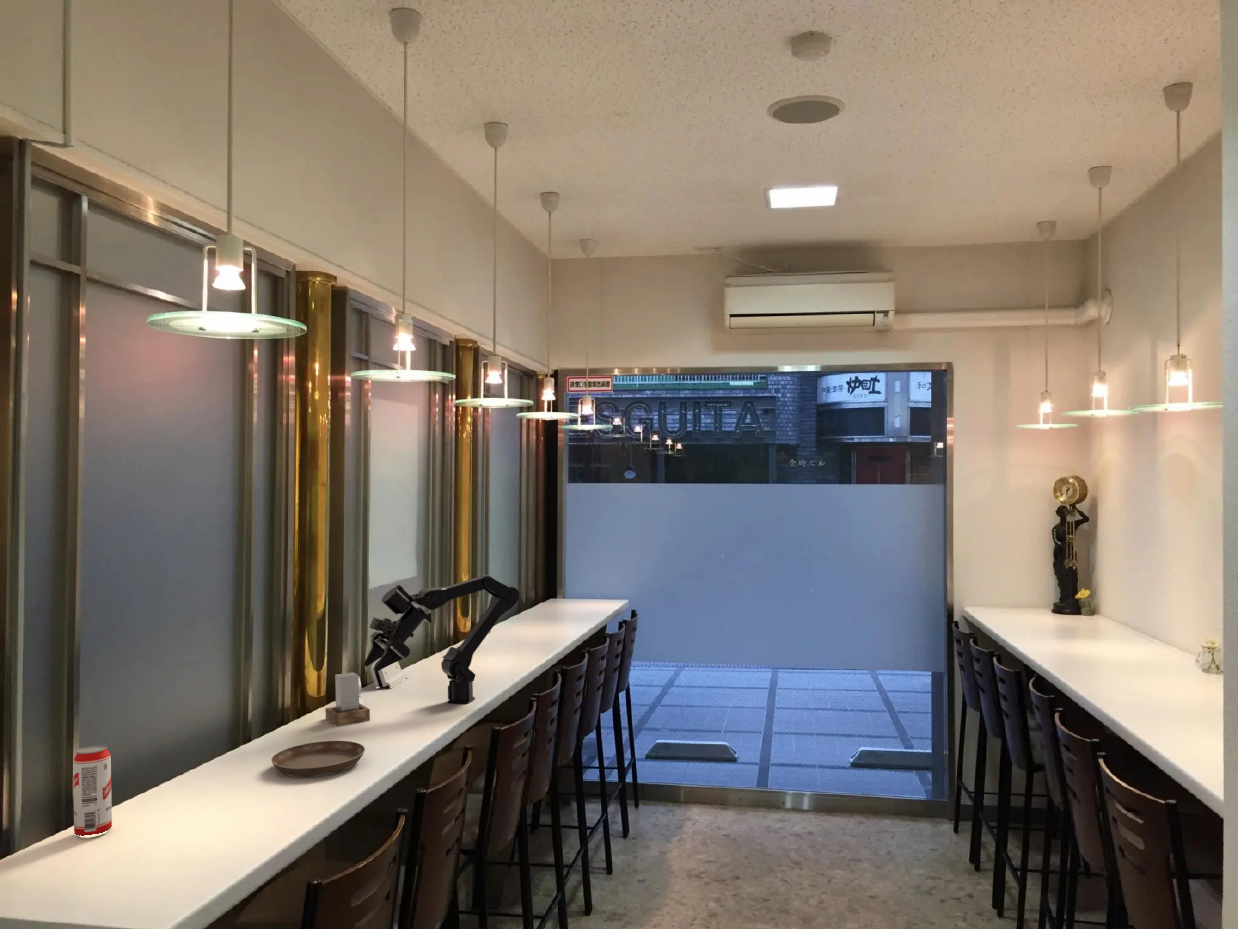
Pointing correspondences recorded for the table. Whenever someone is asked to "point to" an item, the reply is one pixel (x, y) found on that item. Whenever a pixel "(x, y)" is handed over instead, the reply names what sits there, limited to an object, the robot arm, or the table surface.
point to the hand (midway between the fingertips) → (369, 668)
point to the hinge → (387, 675)
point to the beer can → (92, 790)
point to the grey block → (347, 692)
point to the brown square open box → (347, 715)
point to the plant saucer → (318, 758)
